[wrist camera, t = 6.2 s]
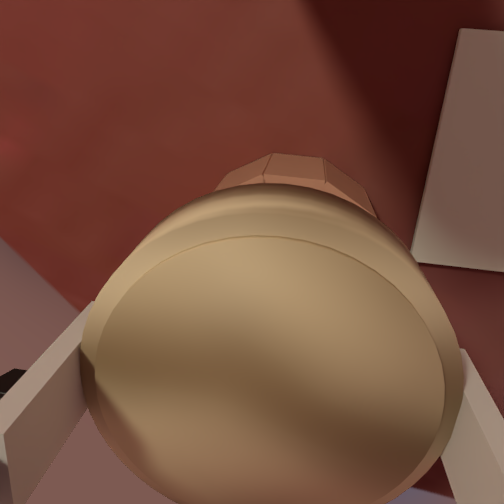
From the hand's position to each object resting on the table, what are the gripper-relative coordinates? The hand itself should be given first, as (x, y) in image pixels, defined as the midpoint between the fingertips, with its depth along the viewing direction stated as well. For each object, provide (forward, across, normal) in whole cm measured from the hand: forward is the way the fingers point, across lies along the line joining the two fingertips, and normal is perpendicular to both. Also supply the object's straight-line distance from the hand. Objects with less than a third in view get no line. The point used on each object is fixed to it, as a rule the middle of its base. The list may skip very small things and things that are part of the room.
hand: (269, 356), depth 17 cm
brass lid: (+1, 0, 0) cm, 1 cm away
